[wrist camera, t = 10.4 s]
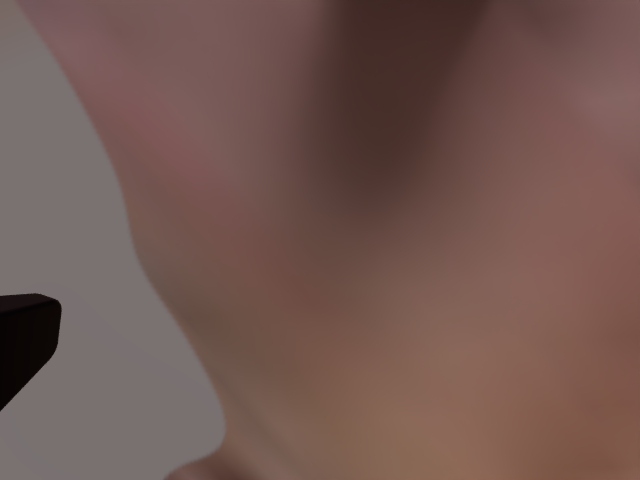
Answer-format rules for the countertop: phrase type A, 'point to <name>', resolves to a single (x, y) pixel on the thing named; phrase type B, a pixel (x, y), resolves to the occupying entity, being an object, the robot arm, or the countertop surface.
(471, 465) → the countertop surface
